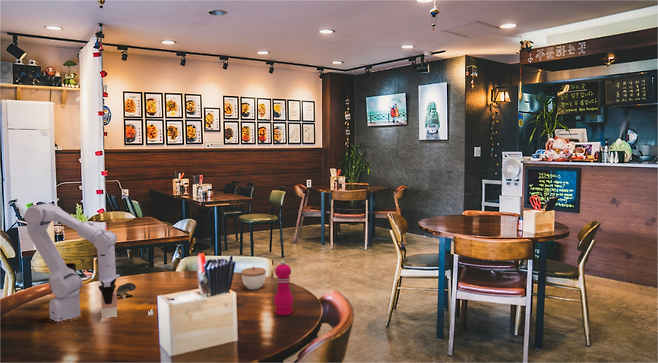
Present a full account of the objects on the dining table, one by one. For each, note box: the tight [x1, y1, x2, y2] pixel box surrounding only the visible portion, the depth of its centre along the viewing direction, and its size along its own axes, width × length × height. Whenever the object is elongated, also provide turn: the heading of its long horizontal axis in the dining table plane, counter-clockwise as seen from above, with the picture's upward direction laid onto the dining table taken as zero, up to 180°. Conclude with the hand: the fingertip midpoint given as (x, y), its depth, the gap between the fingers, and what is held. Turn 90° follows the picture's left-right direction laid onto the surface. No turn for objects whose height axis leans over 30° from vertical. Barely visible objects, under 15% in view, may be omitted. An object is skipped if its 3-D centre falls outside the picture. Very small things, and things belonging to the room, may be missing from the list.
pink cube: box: [100, 289, 118, 309], centre depth 170 cm, size 5×5×5 cm
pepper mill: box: [273, 260, 294, 316], centre depth 172 cm, size 7×7×20 cm
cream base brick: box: [100, 306, 118, 319], centre depth 170 cm, size 5×5×4 cm
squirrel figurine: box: [114, 282, 137, 299], centre depth 192 cm, size 8×7×9 cm
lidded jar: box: [241, 266, 267, 291], centre depth 204 cm, size 11×11×9 cm
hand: (108, 300), depth 170 cm, fingers open, 7 cm apart
